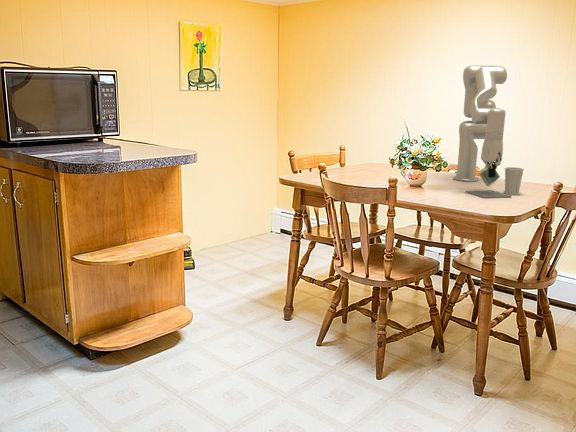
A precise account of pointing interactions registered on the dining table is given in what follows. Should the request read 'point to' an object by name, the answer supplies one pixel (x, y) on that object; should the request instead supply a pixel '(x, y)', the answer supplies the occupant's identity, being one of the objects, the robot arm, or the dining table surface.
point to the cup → (513, 180)
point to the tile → (485, 178)
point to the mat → (488, 194)
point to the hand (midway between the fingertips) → (490, 176)
